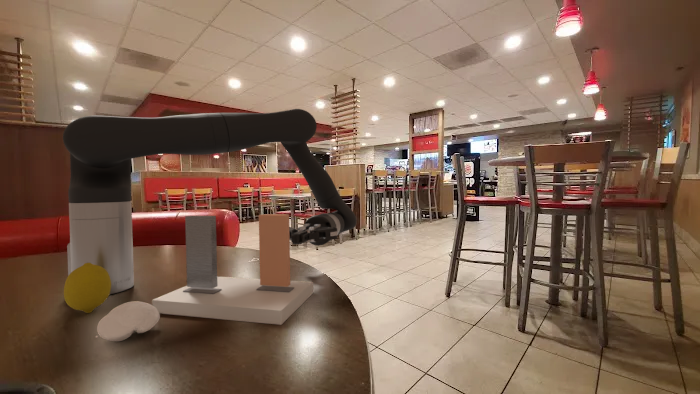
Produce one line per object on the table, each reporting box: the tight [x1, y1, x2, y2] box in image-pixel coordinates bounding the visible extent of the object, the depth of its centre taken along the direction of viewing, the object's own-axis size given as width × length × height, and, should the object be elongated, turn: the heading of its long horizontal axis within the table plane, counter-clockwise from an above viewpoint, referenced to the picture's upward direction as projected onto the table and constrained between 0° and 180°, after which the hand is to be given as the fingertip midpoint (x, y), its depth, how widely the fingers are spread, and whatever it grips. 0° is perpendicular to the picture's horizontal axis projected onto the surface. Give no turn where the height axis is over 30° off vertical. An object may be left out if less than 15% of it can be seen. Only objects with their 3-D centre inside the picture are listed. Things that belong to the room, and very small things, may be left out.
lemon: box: [63, 263, 111, 314], centre depth 45 cm, size 6×6×8 cm
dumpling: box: [95, 300, 161, 342], centre depth 38 cm, size 7×5×4 cm
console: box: [151, 275, 314, 326], centre depth 49 cm, size 22×13×2 cm, turn 77°
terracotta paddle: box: [258, 213, 291, 287], centre depth 49 cm, size 5×1×12 cm, turn 77°
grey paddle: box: [184, 215, 218, 288], centre depth 49 cm, size 5×1×12 cm, turn 77°
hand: (296, 239), depth 58 cm, fingers closed
